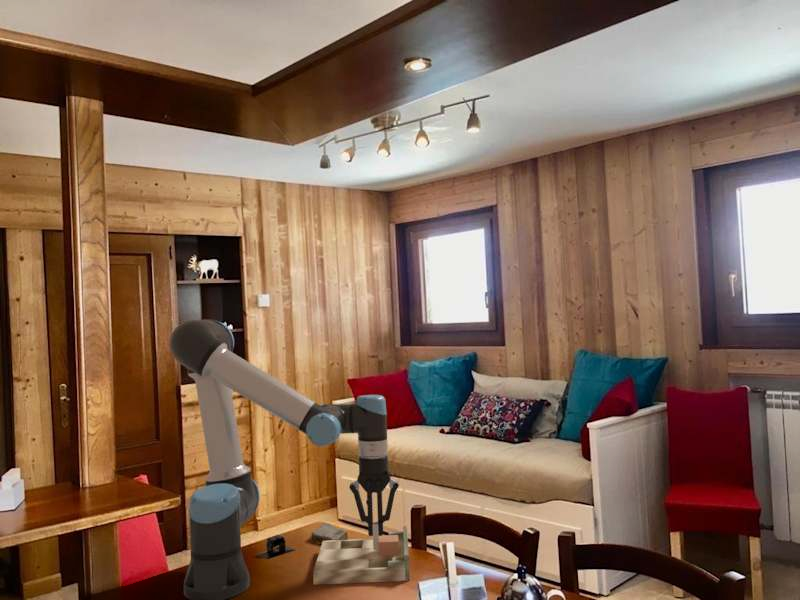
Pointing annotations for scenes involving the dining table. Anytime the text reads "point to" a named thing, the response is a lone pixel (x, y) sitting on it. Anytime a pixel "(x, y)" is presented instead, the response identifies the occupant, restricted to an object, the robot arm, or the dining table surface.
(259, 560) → the dining table surface
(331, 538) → the stone
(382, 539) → the block
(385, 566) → the beige divided tray
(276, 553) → the black bracket on plate
